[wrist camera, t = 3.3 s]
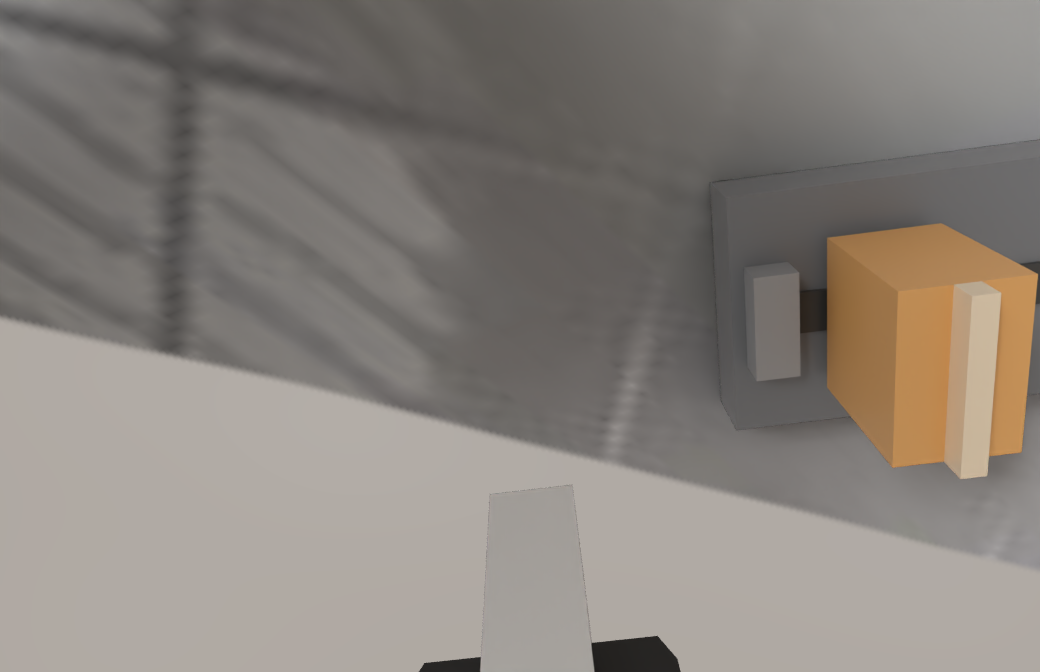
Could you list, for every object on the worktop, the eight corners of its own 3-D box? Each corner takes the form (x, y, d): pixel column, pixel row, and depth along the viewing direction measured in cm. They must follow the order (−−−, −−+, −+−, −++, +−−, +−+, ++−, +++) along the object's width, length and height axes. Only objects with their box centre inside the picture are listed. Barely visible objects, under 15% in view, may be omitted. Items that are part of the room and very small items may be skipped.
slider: (827, 387, 25) (906, 485, 20) (827, 237, 23) (913, 303, 18) (933, 374, 25) (1041, 469, 20) (941, 223, 23) (1060, 285, 18)
